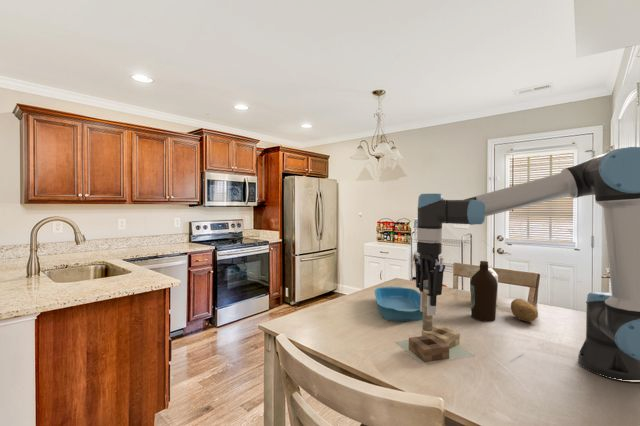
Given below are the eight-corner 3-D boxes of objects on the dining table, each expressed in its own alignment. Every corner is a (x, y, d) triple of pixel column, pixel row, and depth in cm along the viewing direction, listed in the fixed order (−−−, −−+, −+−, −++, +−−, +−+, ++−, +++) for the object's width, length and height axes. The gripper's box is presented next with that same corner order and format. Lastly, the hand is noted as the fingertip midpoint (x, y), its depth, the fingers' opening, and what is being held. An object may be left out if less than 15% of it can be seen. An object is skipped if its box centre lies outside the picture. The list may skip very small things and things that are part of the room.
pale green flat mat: (475, 359, 101) (475, 355, 101) (421, 367, 96) (421, 364, 96) (443, 338, 116) (443, 335, 116) (395, 345, 111) (395, 341, 111)
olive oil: (495, 315, 141) (496, 260, 140) (498, 323, 131) (499, 264, 130) (469, 312, 145) (470, 258, 144) (470, 320, 135) (470, 262, 135)
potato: (518, 325, 130) (518, 306, 129) (505, 313, 143) (505, 296, 143) (544, 327, 128) (545, 307, 127) (529, 315, 141) (529, 297, 141)
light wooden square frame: (459, 344, 109) (459, 332, 109) (444, 351, 104) (444, 339, 104) (436, 335, 117) (436, 324, 116) (421, 341, 111) (421, 330, 111)
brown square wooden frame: (449, 358, 99) (449, 346, 99) (424, 362, 97) (424, 349, 96) (431, 346, 108) (432, 334, 107) (408, 349, 105) (408, 337, 105)
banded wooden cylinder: (434, 331, 101) (435, 281, 100) (425, 332, 100) (427, 282, 100) (428, 327, 104) (429, 279, 103) (420, 328, 103) (421, 280, 103)
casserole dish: (434, 327, 128) (434, 310, 128) (378, 325, 130) (378, 308, 130) (415, 300, 165) (415, 286, 164) (372, 298, 167) (372, 285, 167)
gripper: (456, 244, 94) (454, 321, 95) (424, 238, 110) (423, 304, 111) (434, 244, 92) (432, 323, 93) (405, 238, 108) (404, 306, 109)
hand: (427, 313), depth 102 cm, fingers closed on banded wooden cylinder, 3 cm apart
